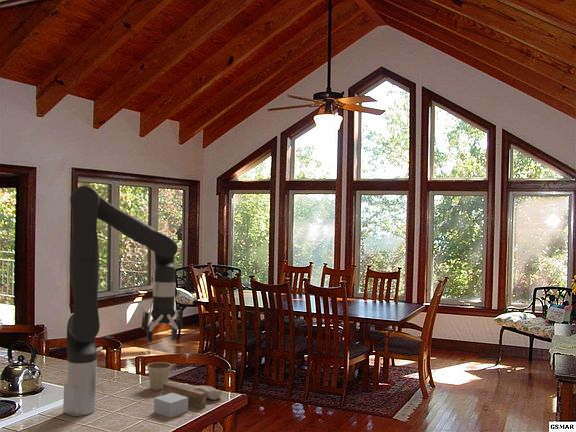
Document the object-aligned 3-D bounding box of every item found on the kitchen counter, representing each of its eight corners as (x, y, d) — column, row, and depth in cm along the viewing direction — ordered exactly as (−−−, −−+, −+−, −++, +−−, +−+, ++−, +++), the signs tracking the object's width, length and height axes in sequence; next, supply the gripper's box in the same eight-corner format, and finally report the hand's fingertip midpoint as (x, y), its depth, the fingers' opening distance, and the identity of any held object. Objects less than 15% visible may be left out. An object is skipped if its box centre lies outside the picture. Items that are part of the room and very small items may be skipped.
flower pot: (168, 392, 219) (168, 369, 219) (143, 391, 220) (143, 368, 219) (173, 384, 229) (174, 362, 229) (149, 383, 229) (150, 361, 229)
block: (170, 418, 192) (170, 403, 192) (153, 412, 197) (154, 397, 197) (187, 412, 199) (188, 397, 199) (171, 406, 204) (172, 392, 204)
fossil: (203, 384, 221) (223, 378, 217) (207, 401, 219) (228, 395, 215) (188, 387, 213) (209, 381, 209) (192, 406, 212) (214, 399, 207)
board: (200, 408, 202) (201, 394, 202) (162, 397, 213) (162, 383, 213) (205, 406, 204) (206, 392, 204) (166, 395, 215) (167, 382, 215)
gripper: (148, 296, 197) (145, 344, 197) (187, 295, 205) (185, 341, 205) (140, 293, 203) (138, 340, 203) (178, 292, 211) (176, 337, 211)
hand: (161, 340), depth 204 cm, fingers open, 8 cm apart
